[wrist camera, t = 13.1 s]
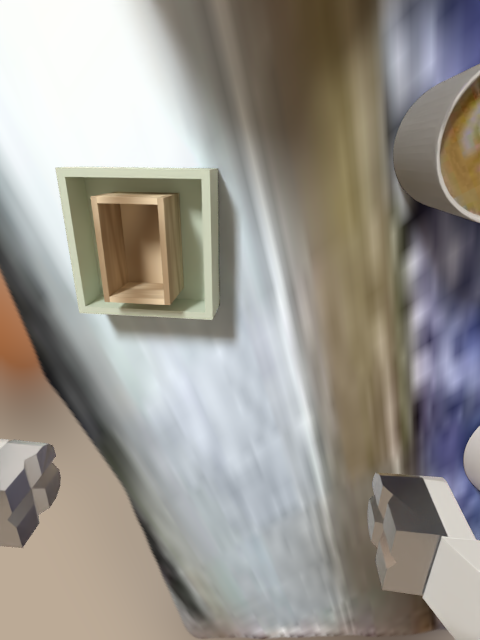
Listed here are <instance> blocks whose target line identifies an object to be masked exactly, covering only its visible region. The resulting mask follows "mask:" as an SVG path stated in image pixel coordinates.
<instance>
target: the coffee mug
mask: <svg viewBox="0 0 480 640" xmlns="http://www.w3.org/2000/svg"><path fill="white" fill-rule="evenodd" d="M393 162H394V169H395V172H396V175H397V178H398V180H399V182H400V184H401V186H402V187H403V189H404V190H405V191H406V192H407V193H408V194H409V195H410V196H411V197H412V198H413V199H415V200H416V201H418V202H420V203H422V204H424V205H427V206H429V207H432V208H435V209H438V210H441V211H444V212H447V213H450V214H453V215H456V216H459V217H462V218H465V219H468V220H471V221H474V222H477V223H480V64H478V65H476V66H474V67H472V68H470V69H468V70H466V71H464V72H462V73H460V74H458V75H456V76H454V77H452V78H450V79H448V80H446V81H443V82H441V83H439V84H438V85H436V86H434V87H433V88H431V89H430V90H428V91H427V92H426V93H424V94H423V95H422V96H421V97H420V98H419V99H418V100H417V101H416V102H415V103H414V104H413V105H412V106H411V108H410V109H409V110H408V112H407V113H406V115H405V117H404V118H403V120H402V122H401V124H400V127H399V129H398V132H397V135H396V138H395V142H394V150H393Z"/></svg>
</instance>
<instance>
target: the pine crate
mask: <svg viewBox="0 0 480 640" xmlns="http://www.w3.org/2000/svg"><path fill="white" fill-rule="evenodd" d="M90 198H91V205H92V212H93V220H94V227H95V235H96V242H97V249H98V257H99V264H100V271H101V279H102V286H103V293H104V301H105V302H116V303H136V304H156V305H171V304H172V302H173V301H174V300H175V298H176V297H177V296H178V295H179V293H180V292H181V291H182V290H183V288H184V276H183V256H182V235H181V215H180V194H179V193H161V192H111V193H106V194H101V195H96V196H91V197H90Z"/></svg>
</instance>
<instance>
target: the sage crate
mask: <svg viewBox="0 0 480 640" xmlns="http://www.w3.org/2000/svg"><path fill="white" fill-rule="evenodd" d="M56 174H57V180H58V186H59V192H60V198H61V204H62V210H63V217H64V223H65V229H66V235H67V241H68V247H69V253H70V259H71V265H72V271H73V277H74V283H75V289H76V295H77V301H78V307H79V313H90V314H109V315H128V316H148V317H167V318H186V319H205V320H213V318H214V316H215V314H216V312H217V309H218V307H219V305H220V299H219V216H218V169H215V168H139V167H60V168H56ZM111 192H161V193H179V194H180V215H181V235H182V256H183V276H184V288H183V290H182V291H181V292H180V293H179V295H178V296H177V297H176V298H175V300H174V301H173V302H172V304H171V305H156V304H136V303H116V302H105V301H104V293H103V286H102V279H101V271H100V264H99V257H98V249H97V242H96V235H95V227H94V220H93V212H92V205H91V198H90V197H91V196H96V195H101V194H106V193H111Z"/></svg>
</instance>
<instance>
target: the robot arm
mask: <svg viewBox="0 0 480 640" xmlns="http://www.w3.org/2000/svg"><path fill="white" fill-rule="evenodd" d="M55 457H56V454H55V451H54V447H53V446H52V445H50V444H45V443H36V442H28V441H19V440H7V439H0V546H6V547H18V548H22V547H23V546H24V545H25V543H26V542H27V540H28V539H29V537H30V536H31V535H32V533H33V532H34V530H35V529H36V527H37V526H38V524H39V516H38V515H39V514H41V513H42V512H44V511H45V510H47V509H49V508H50V506H51V505H52V503H53V502H54V500H55V499H56V496H57V494H58V490H59V487H60V478H61V477H60V472H59V469H58V468H57V467H56V466H55V465H54V464H53V463H52V461H53V460H54V458H55ZM464 468H465V472H466V474H467V476H468V478H469V480H470V481H471V483H472V484H473V485H474V486H475V487H476V488H477V489H478V490H479V491H480V426H479V427H478V428H477V429H476V431H475V432H474V433H473V435H472V436H471V438H470V439H469V441H468V443H467V446H466V448H465V452H464ZM372 486H373V490H374V494H375V495H374V496H372V497H371V498H370V499H369V505H368V528H369V534H370V539H371V542H372V543H373V544H374V545H375V546H376V547H377V554H376V559H375V561H376V565H377V570H378V574H379V578H380V583H381V587H382V590H387V591H394V592H401V593H407V594H414V595H421V596H423V599H424V600H425V602H426V603H427V604H428V605H429V607H430V608H431V609H432V611H433V612H434V613H435V614H436V616H437V617H438V618H439V620H440V621H441V622H442V624H443V625H444V626H445V627H446V629H447V630H448V631H449V633H450V634H451V635H452V636H453V637H454V639H455V640H480V540H476V539H475V537H474V535H473V533H472V531H471V529H470V527H469V525H468V523H467V521H466V519H465V517H464V515H463V513H462V511H461V509H460V507H459V505H458V503H457V501H456V499H455V497H454V495H453V493H452V491H451V489H450V487H449V485H448V484H447V482H446V480H445V479H443V478H442V477H430V476H414V475H401V474H389V473H376V474H375V476H374V479H373V483H372Z"/></svg>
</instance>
